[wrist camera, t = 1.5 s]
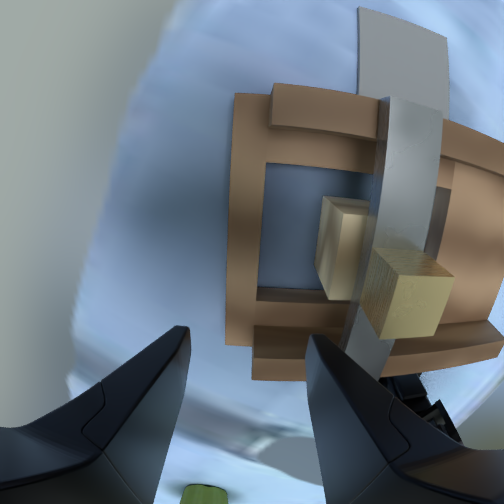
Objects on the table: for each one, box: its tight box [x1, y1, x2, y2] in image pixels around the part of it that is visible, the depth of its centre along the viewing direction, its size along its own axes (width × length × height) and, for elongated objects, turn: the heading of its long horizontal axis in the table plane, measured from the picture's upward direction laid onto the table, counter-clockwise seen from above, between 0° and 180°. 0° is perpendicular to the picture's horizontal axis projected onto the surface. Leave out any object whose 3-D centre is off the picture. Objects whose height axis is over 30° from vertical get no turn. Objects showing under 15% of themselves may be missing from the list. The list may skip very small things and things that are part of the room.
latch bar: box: [338, 96, 455, 381], centre depth 12 cm, size 17×3×4 cm, turn 177°
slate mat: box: [357, 7, 449, 120], centre depth 15 cm, size 8×8×1 cm
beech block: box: [314, 196, 370, 300], centre depth 17 cm, size 5×5×5 cm
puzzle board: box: [225, 83, 504, 381], centre depth 17 cm, size 17×24×6 cm
